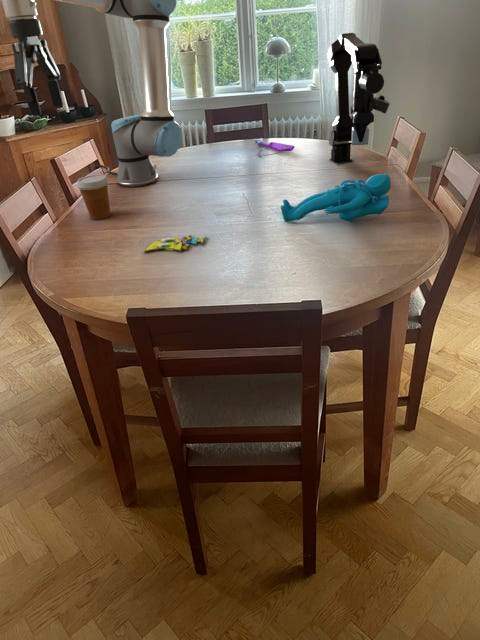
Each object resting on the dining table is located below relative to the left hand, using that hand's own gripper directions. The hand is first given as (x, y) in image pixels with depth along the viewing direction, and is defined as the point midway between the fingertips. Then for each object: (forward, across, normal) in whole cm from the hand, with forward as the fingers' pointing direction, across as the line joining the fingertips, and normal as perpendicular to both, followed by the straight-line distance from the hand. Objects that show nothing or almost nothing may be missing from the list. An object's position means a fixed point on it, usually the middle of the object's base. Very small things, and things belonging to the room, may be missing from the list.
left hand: (48, 110), depth 131 cm
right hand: (+21, +39, -88) cm, 99 cm away
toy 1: (+33, -17, -35) cm, 51 cm away
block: (+22, +39, -88) cm, 99 cm away
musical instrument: (+33, +81, -53) cm, 102 cm away
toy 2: (+33, -2, -78) cm, 84 cm away
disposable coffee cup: (+33, +7, -4) cm, 34 cm away
